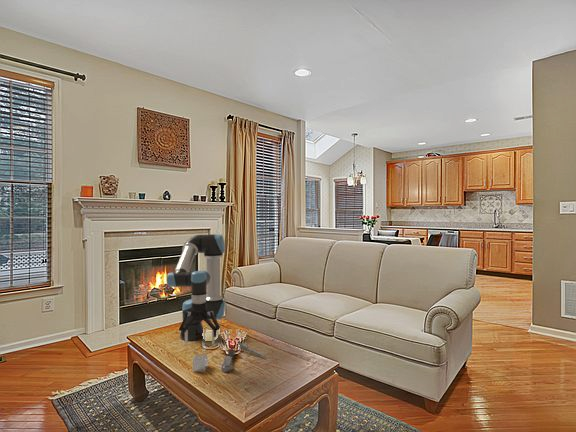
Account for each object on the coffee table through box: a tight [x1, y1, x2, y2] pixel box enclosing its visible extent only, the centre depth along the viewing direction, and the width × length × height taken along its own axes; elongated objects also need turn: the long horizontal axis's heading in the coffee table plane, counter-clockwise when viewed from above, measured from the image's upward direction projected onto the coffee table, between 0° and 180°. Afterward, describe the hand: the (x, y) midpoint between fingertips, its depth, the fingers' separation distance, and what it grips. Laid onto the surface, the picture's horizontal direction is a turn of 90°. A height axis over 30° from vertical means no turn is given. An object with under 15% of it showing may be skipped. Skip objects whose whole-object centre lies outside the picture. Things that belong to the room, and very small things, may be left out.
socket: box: [192, 354, 209, 373], centre depth 174 cm, size 6×6×6 cm
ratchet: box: [221, 349, 236, 374], centre depth 181 cm, size 22×6×6 cm, turn 2°
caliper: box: [238, 340, 268, 360], centre depth 190 cm, size 20×1×6 cm, turn 58°
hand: (199, 343), depth 174 cm, fingers open, 13 cm apart
